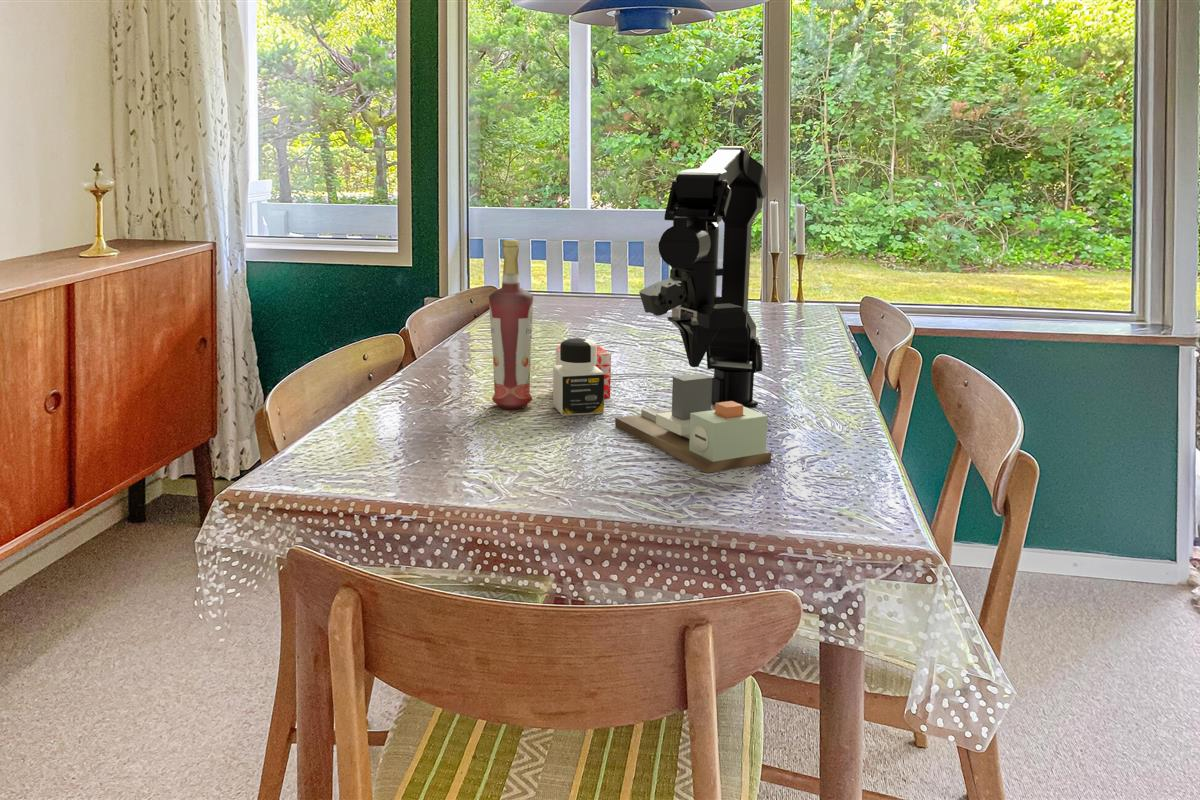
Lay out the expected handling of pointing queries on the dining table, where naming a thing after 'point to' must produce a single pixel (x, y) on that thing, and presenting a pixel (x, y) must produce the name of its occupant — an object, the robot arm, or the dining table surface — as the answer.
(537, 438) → the dining table surface
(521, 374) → the liquor
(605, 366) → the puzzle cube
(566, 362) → the medicine bottle
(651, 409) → the rail track
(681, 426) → the carriage
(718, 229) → the robot arm
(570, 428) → the dining table surface
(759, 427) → the cabinet
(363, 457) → the dining table surface
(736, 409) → the button
